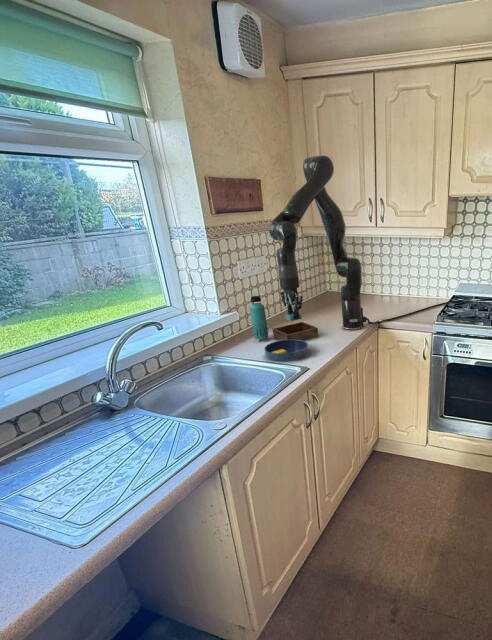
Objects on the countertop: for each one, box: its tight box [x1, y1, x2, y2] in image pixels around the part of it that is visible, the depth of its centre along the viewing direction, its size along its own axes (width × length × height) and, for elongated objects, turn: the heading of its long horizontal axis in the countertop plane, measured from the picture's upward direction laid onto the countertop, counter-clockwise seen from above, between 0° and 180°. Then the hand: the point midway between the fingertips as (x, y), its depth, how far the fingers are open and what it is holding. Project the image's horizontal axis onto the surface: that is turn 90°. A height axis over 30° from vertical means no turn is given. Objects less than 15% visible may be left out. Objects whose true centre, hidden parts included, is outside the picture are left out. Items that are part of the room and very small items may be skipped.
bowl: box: [264, 339, 310, 363], centre depth 166 cm, size 17×17×4 cm
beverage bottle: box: [249, 295, 269, 340], centre depth 180 cm, size 6×7×20 cm
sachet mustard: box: [272, 349, 287, 353], centre depth 164 cm, size 5×4×2 cm
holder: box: [272, 321, 319, 341], centre depth 186 cm, size 16×14×5 cm
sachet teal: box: [285, 313, 303, 322], centre depth 167 cm, size 5×4×2 cm
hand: (293, 317), depth 167 cm, fingers closed on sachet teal, 3 cm apart
